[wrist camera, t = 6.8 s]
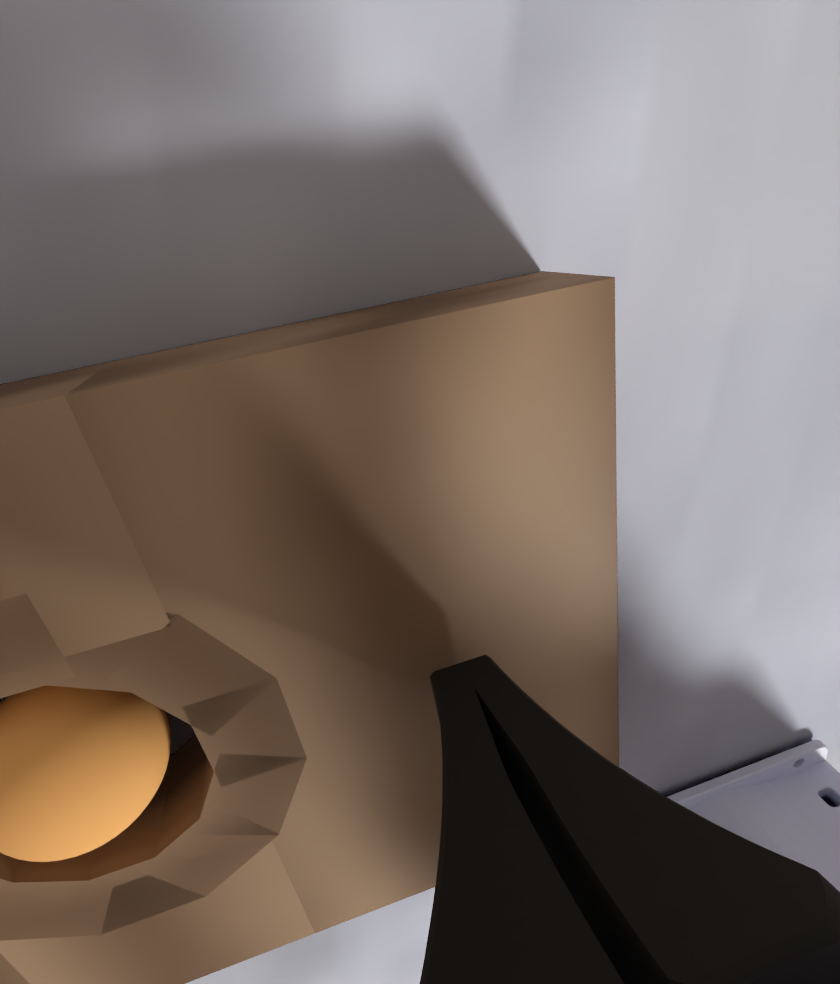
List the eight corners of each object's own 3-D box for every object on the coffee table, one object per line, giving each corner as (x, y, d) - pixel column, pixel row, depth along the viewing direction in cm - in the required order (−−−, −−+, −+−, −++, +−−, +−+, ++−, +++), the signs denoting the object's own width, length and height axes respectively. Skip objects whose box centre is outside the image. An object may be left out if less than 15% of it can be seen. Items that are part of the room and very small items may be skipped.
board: (542, 271, 13) (614, 277, 10) (571, 739, 20) (619, 815, 17) (-362, 460, 10) (-586, 536, 7) (44, 928, 17) (3, 1053, 14)
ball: (-122, 742, 11) (68, 607, 14) (-19, 835, 13) (126, 703, 16) (-15, 849, 9) (178, 670, 12) (82, 934, 11) (224, 767, 14)
